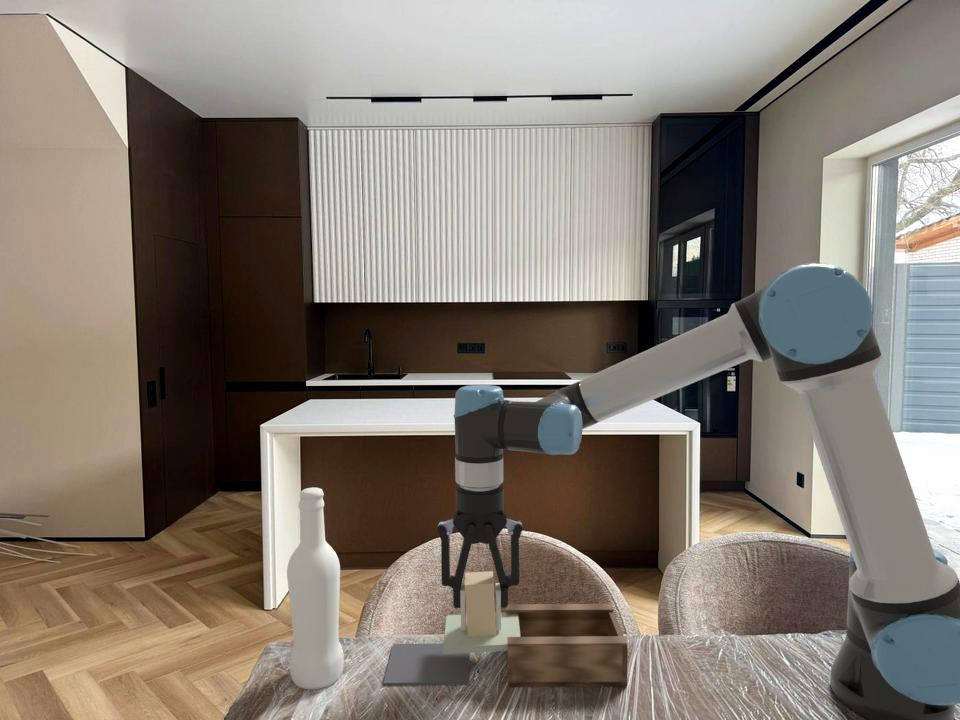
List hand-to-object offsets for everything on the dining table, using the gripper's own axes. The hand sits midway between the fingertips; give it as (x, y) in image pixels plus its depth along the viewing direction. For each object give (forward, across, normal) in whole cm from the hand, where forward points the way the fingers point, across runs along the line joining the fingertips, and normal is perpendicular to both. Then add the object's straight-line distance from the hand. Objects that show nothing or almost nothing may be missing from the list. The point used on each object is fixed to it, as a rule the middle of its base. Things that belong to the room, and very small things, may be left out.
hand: (480, 625), depth 102 cm
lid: (+2, 0, 0) cm, 2 cm away
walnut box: (+6, -13, 0) cm, 15 cm away
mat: (+6, +8, 0) cm, 11 cm away
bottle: (+7, +26, +3) cm, 27 cm away
